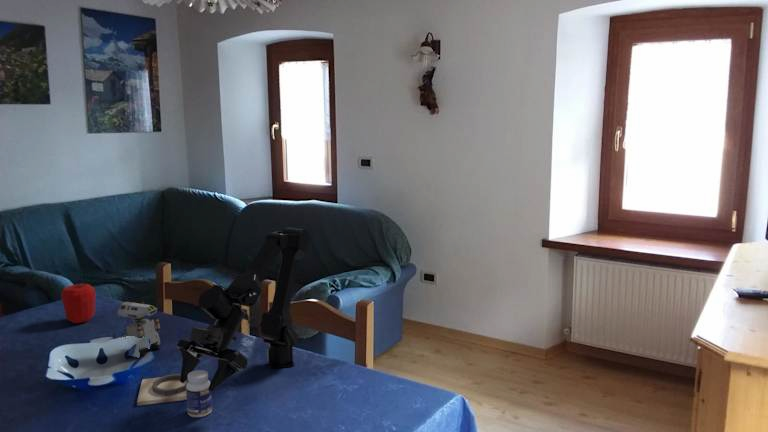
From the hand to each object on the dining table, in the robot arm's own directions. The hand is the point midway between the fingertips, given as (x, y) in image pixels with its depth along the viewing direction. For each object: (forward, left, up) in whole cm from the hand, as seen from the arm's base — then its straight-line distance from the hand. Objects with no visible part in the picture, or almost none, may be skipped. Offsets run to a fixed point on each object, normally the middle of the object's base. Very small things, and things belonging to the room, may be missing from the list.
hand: (195, 386), depth 149 cm
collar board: (+6, -15, -7) cm, 18 cm away
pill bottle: (-1, -1, -7) cm, 7 cm away
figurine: (+17, -44, -7) cm, 48 cm away
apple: (+39, -77, -7) cm, 86 cm away
